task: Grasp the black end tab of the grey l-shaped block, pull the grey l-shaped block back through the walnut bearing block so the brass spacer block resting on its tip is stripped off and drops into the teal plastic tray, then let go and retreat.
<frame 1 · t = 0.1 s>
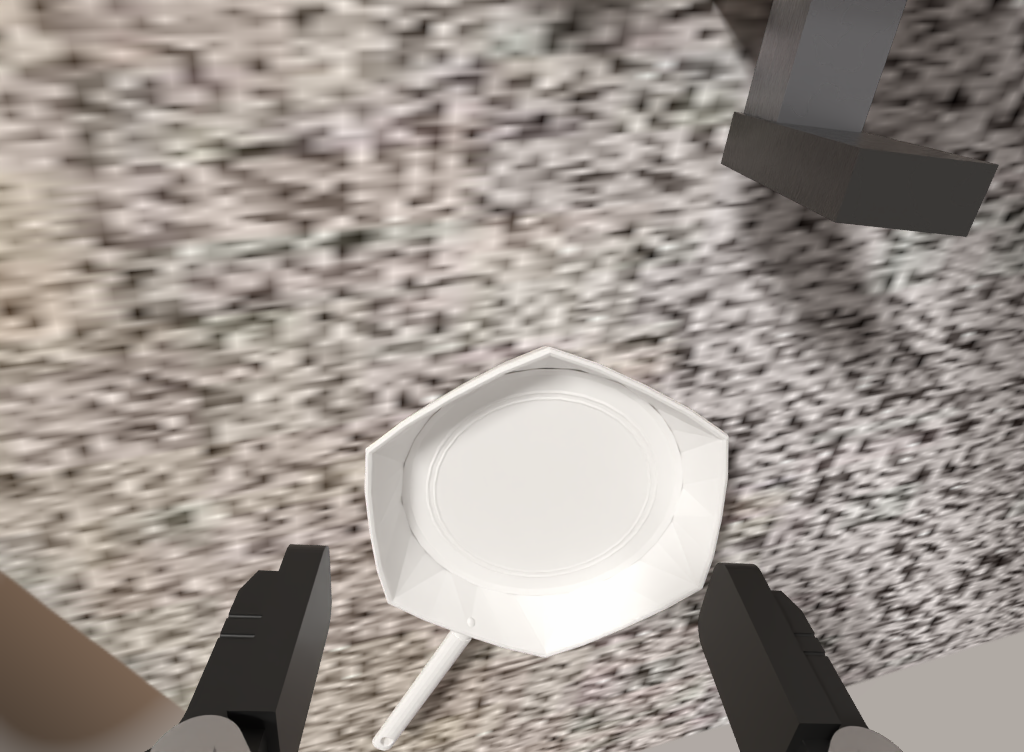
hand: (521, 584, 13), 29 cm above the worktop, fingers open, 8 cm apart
pan: (491, 557, 52), on the worktop
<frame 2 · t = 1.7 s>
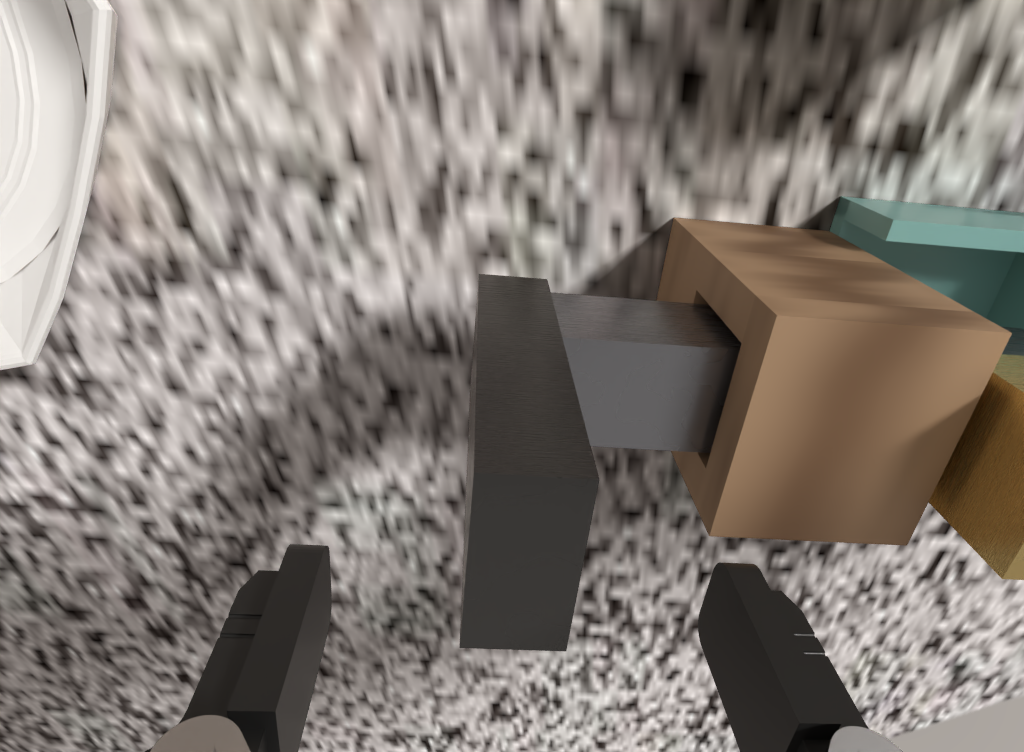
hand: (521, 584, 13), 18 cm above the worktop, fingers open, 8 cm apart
tray: (893, 322, 30), on the worktop
bearing block: (729, 310, 30), on the worktop
grey l-shaped block: (814, 440, 20), point 11 cm above the worktop, slide at 0.0 cm, touching spacer
spacer: (998, 421, 22), point 9 cm above the worktop, touching grey l-shaped block
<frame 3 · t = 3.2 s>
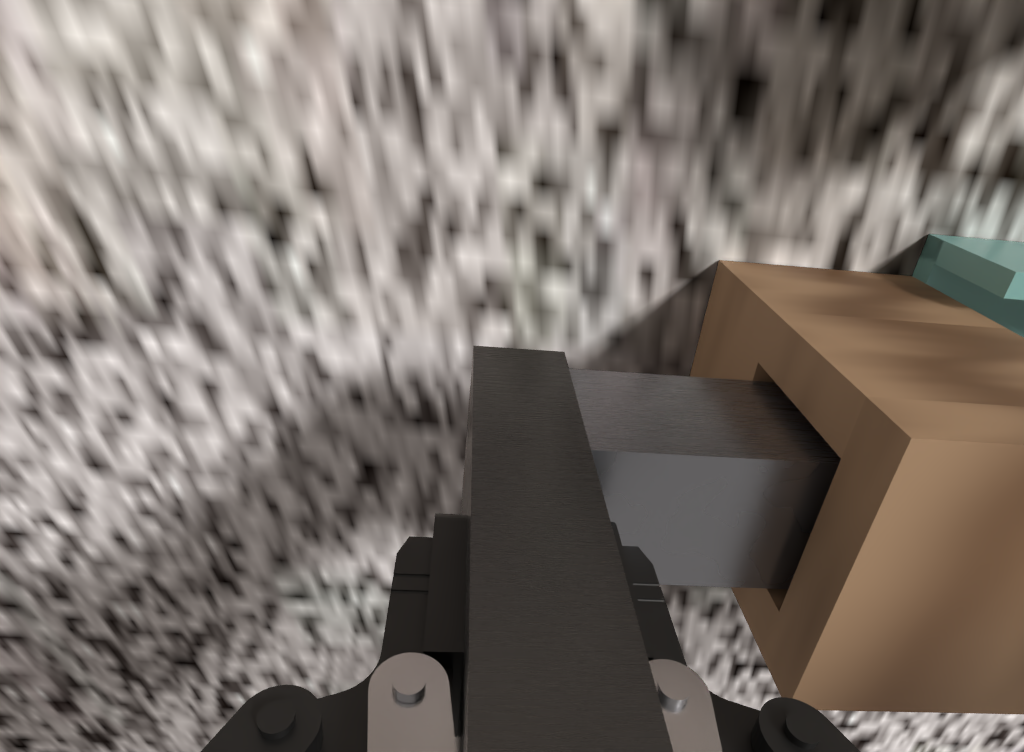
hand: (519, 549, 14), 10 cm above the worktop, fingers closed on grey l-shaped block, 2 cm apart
tray: (981, 384, 25), on the worktop
bearing block: (783, 370, 24), on the worktop
grey l-shaped block: (943, 595, 14), point 11 cm above the worktop, slide at 0.0 cm, touching gripper, spacer
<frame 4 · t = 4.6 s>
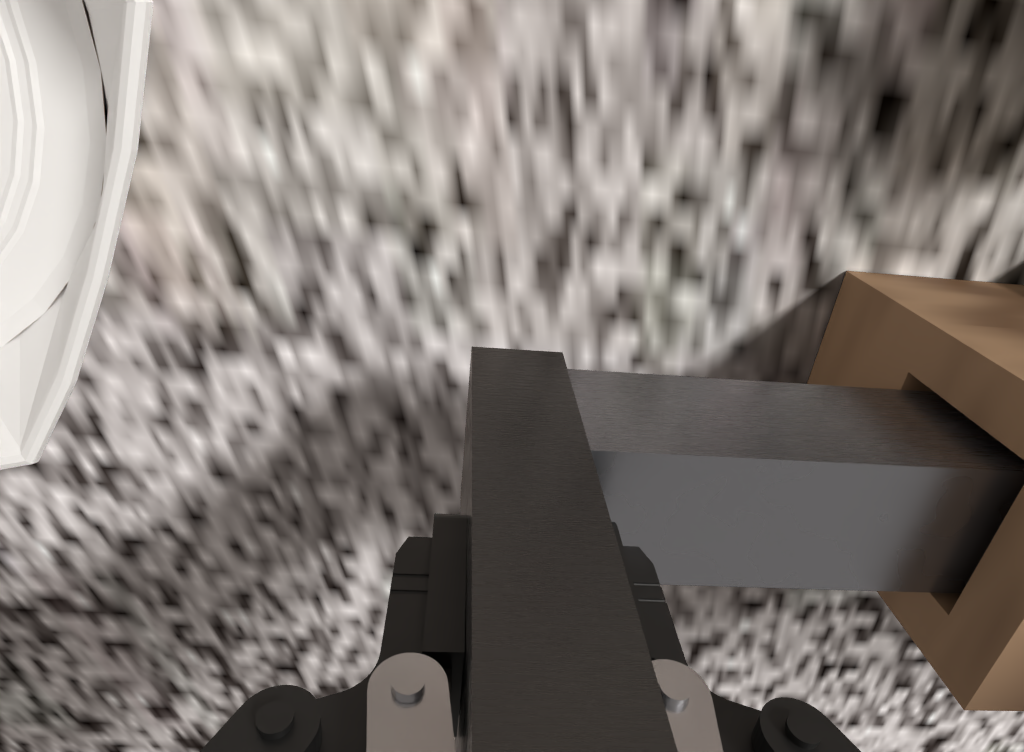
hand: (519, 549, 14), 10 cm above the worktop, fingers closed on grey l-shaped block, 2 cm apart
bearing block: (897, 377, 25), on the worktop
grey l-shaped block: (941, 593, 14), point 11 cm above the worktop, slide at 4.8 cm, touching gripper, spacer
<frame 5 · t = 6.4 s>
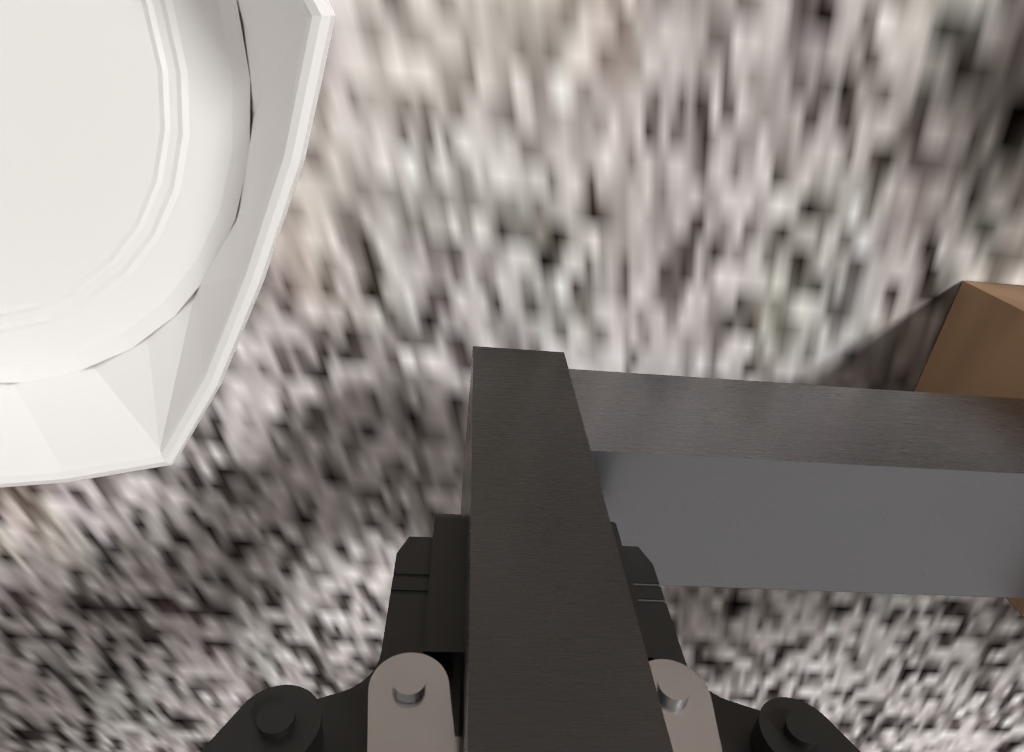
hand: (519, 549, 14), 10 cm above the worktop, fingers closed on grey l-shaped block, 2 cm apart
bearing block: (1003, 385, 25), on the worktop
grey l-shaped block: (942, 595, 14), point 11 cm above the worktop, slide at 8.9 cm, touching gripper
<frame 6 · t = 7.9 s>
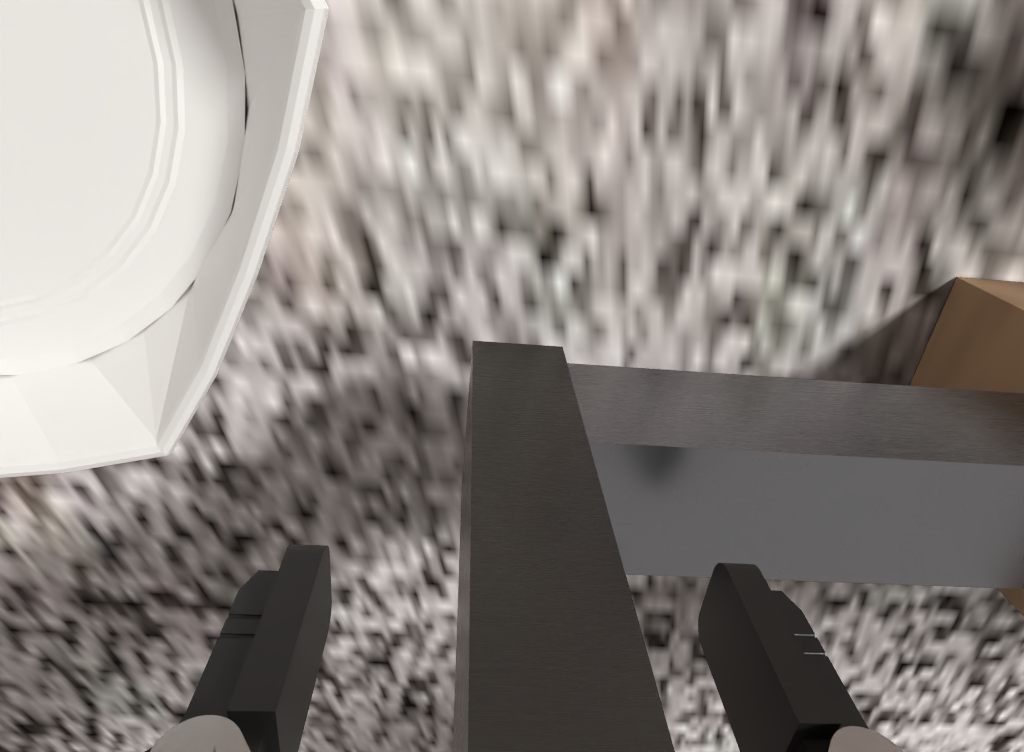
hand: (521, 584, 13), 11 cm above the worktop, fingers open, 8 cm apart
bearing block: (997, 381, 25), on the worktop
grey l-shaped block: (934, 584, 14), point 11 cm above the worktop, slide at 8.9 cm
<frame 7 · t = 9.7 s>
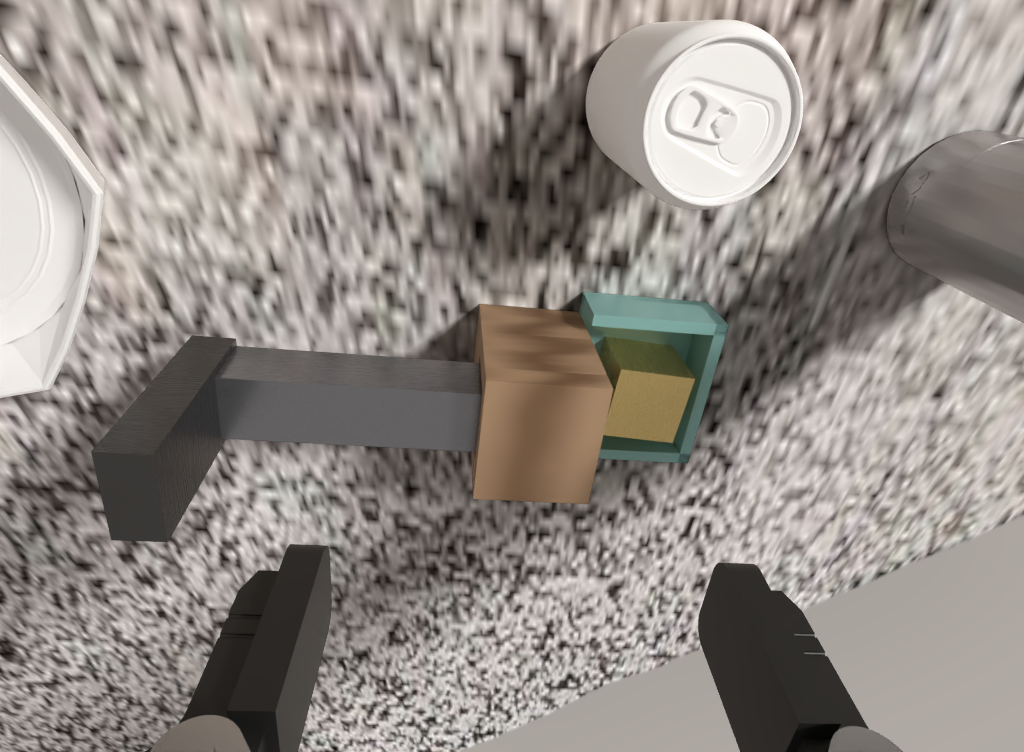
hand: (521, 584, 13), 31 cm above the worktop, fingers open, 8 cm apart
tray: (630, 367, 47), on the worktop
bearing block: (522, 359, 46), on the worktop
grey l-shaped block: (360, 436, 35), point 11 cm above the worktop, slide at 8.9 cm
beverage can: (649, 98, 39), on the worktop
spacer: (603, 384, 44), point 3 cm above the worktop, tilted 90°, touching tray
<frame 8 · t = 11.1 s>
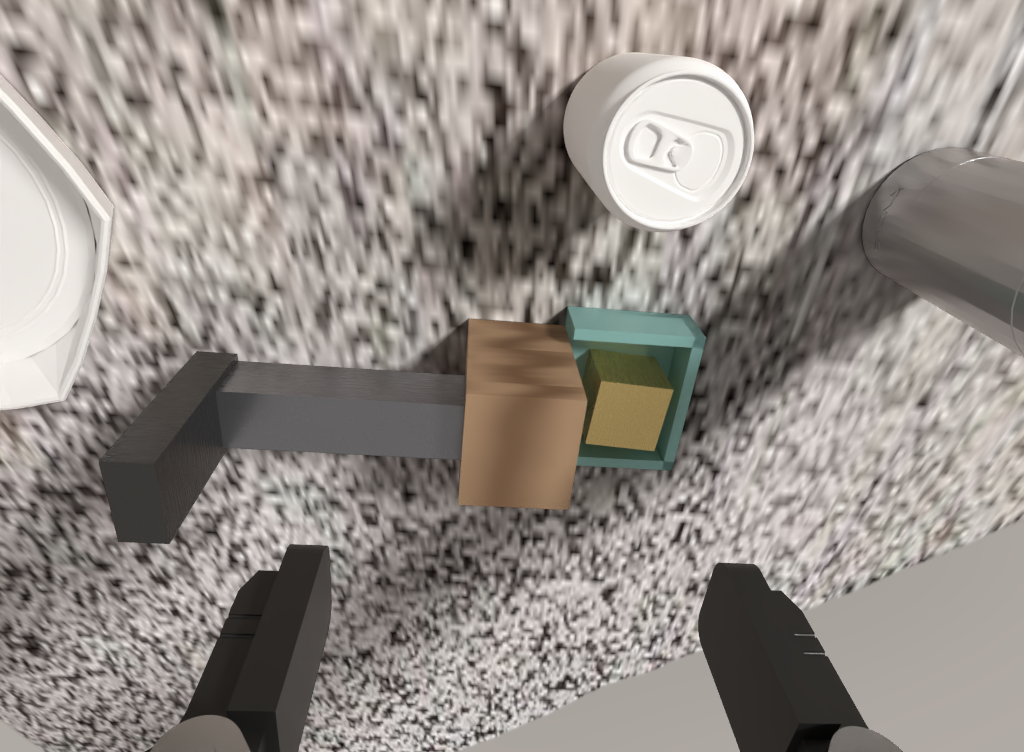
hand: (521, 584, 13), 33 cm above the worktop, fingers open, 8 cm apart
tray: (615, 377, 49), on the worktop
bearing block: (511, 370, 48), on the worktop
grey l-shaped block: (350, 445, 38), point 11 cm above the worktop, slide at 8.9 cm
beverage can: (625, 123, 41), on the worktop
spacer: (587, 394, 46), point 3 cm above the worktop, tilted 90°, touching tray
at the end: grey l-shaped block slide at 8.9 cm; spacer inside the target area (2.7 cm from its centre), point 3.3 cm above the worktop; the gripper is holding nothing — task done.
